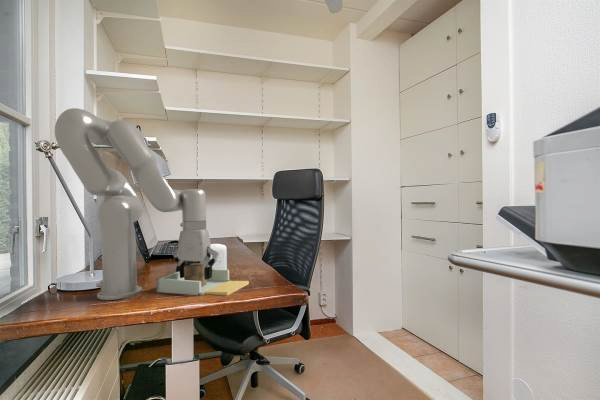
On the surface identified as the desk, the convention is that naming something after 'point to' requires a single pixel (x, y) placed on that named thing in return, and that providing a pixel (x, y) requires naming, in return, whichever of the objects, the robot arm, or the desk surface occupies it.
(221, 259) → the photo printer
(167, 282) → the pale green tray
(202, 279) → the walnut block
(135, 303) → the desk surface
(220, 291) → the tailgate
